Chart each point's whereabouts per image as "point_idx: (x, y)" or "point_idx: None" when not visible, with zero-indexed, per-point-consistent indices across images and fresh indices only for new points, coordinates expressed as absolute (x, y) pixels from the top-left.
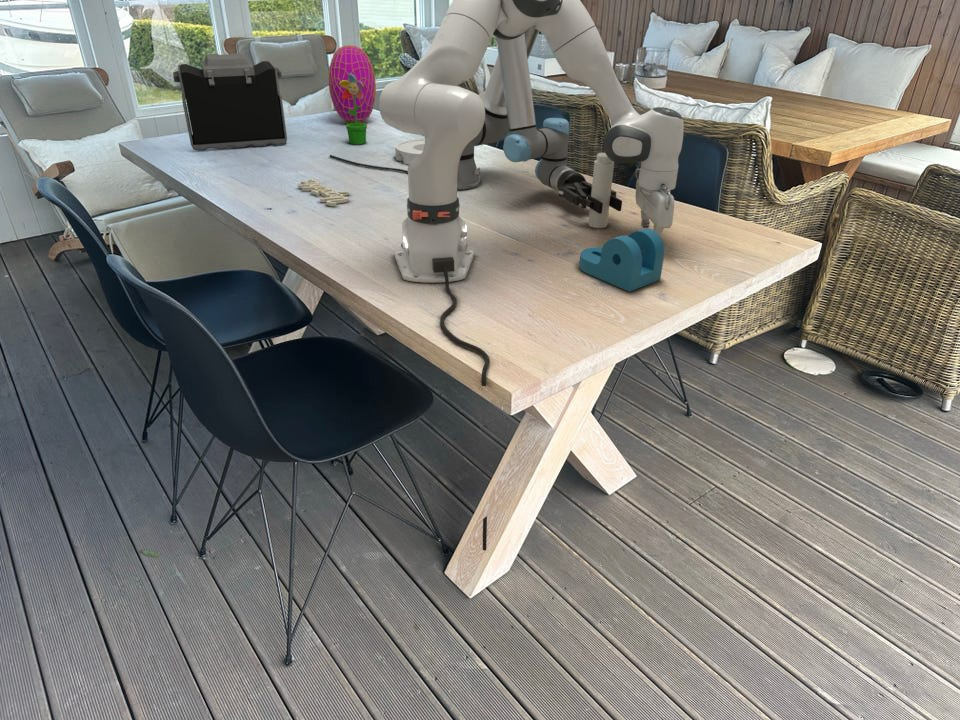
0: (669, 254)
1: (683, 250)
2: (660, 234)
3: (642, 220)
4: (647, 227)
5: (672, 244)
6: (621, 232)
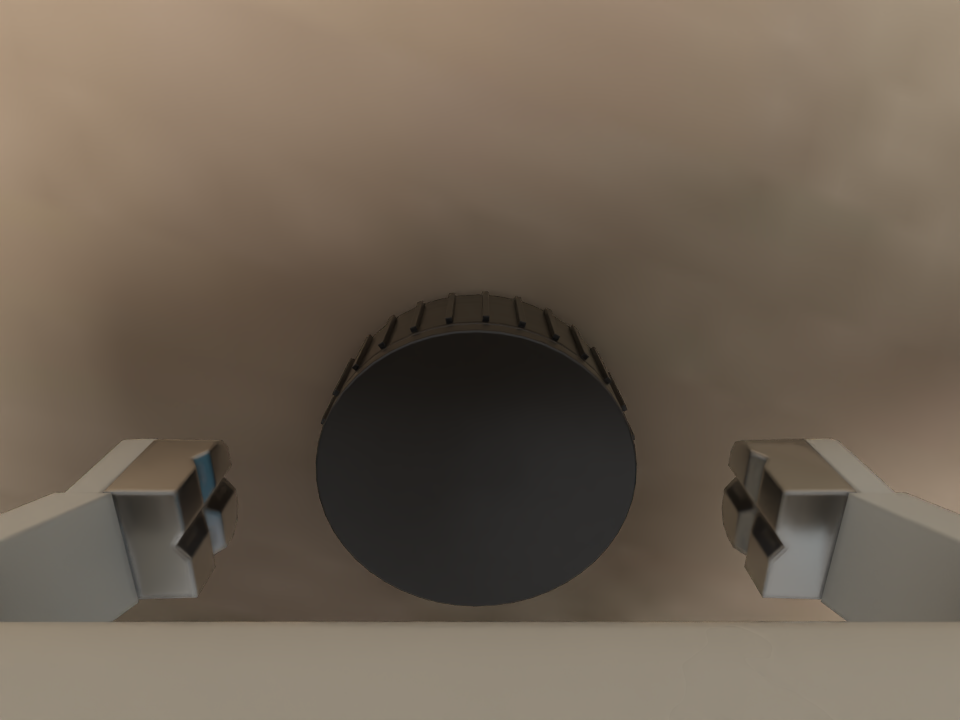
0: (957, 278)
1: (876, 6)
2: (891, 492)
3: (145, 596)
4: (225, 454)
5: (601, 109)
6: (166, 620)
